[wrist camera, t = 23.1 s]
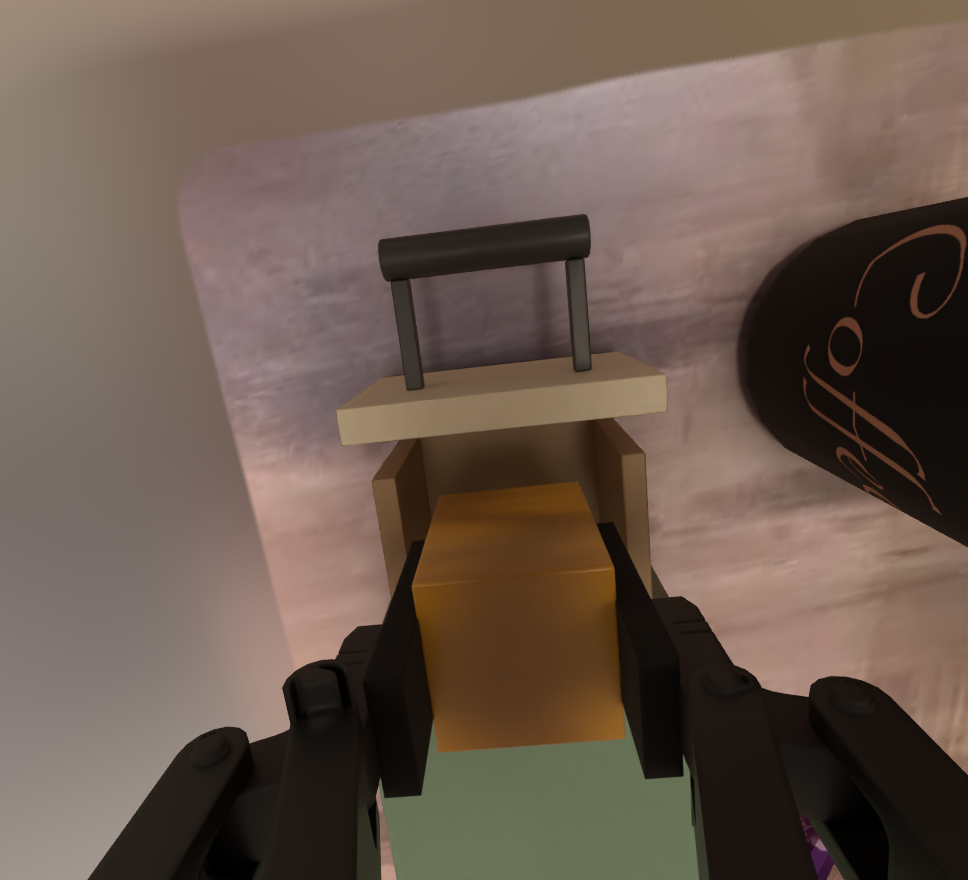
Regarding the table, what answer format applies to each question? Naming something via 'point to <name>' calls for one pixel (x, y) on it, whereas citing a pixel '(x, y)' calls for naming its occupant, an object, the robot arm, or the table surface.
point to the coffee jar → (875, 360)
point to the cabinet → (544, 814)
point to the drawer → (504, 401)
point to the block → (519, 621)
